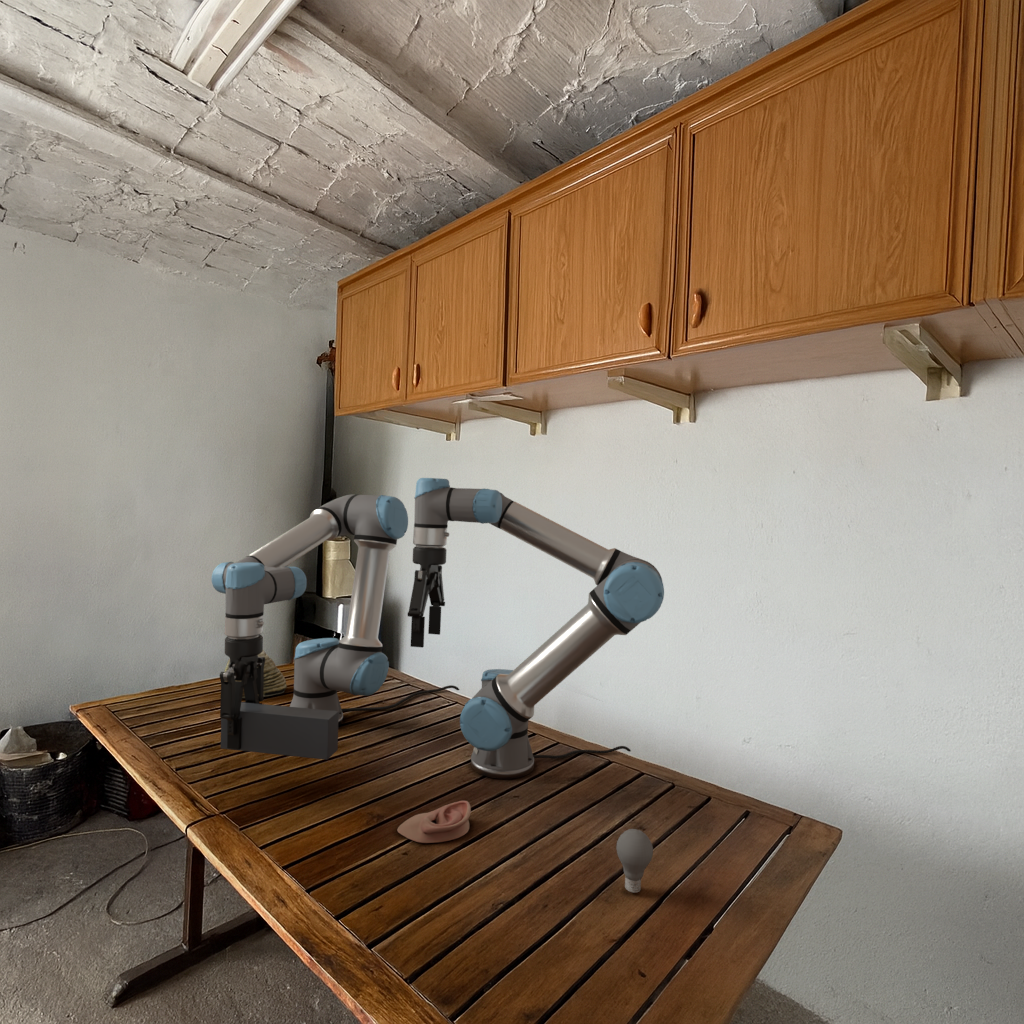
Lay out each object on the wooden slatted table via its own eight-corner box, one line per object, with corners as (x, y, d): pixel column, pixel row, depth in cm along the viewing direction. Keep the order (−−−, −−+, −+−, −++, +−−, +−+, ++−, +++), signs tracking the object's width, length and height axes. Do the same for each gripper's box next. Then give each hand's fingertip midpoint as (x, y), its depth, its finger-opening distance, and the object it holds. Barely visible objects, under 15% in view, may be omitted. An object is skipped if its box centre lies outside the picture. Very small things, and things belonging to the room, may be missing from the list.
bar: (220, 748, 134) (221, 709, 134) (234, 739, 139) (235, 701, 139) (327, 759, 130) (328, 719, 130) (337, 750, 135) (338, 711, 135)
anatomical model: (391, 817, 118) (413, 790, 130) (390, 838, 118) (412, 809, 130) (459, 827, 116) (476, 799, 127) (459, 849, 116) (475, 819, 127)
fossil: (218, 695, 195) (220, 647, 195) (278, 685, 208) (279, 640, 207) (228, 703, 189) (230, 653, 188) (289, 692, 201) (290, 645, 201)
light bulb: (610, 879, 108) (613, 822, 108) (644, 879, 109) (647, 822, 109) (619, 902, 102) (622, 840, 102) (655, 901, 103) (658, 840, 103)
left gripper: (235, 647, 126) (233, 762, 126) (282, 627, 144) (279, 728, 144) (201, 644, 127) (199, 758, 128) (251, 625, 145) (249, 725, 146)
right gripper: (430, 551, 130) (426, 654, 130) (459, 543, 155) (455, 630, 155) (395, 549, 131) (391, 651, 131) (429, 542, 156) (425, 628, 156)
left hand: (241, 742), depth 136 cm, fingers closed on bar, 5 cm apart
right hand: (426, 640), depth 143 cm, fingers open, 13 cm apart
